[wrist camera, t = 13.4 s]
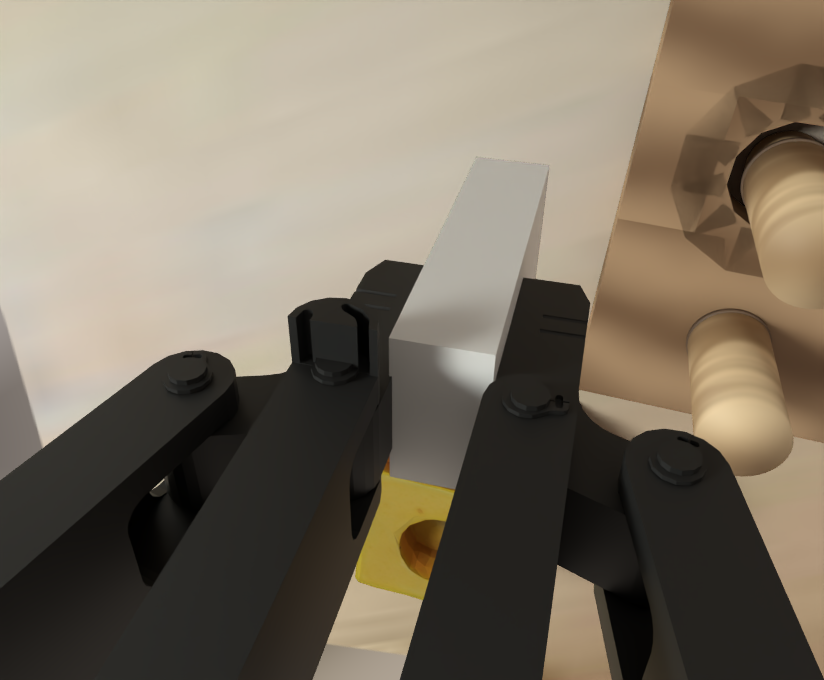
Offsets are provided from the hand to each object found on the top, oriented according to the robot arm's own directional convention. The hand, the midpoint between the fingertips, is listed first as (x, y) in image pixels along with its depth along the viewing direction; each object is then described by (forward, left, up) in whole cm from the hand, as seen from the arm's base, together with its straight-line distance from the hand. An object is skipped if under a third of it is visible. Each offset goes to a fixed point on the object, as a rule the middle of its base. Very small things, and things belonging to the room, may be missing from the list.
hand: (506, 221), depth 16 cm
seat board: (+9, +11, -23) cm, 27 cm away
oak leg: (+6, +11, -23) cm, 26 cm away
